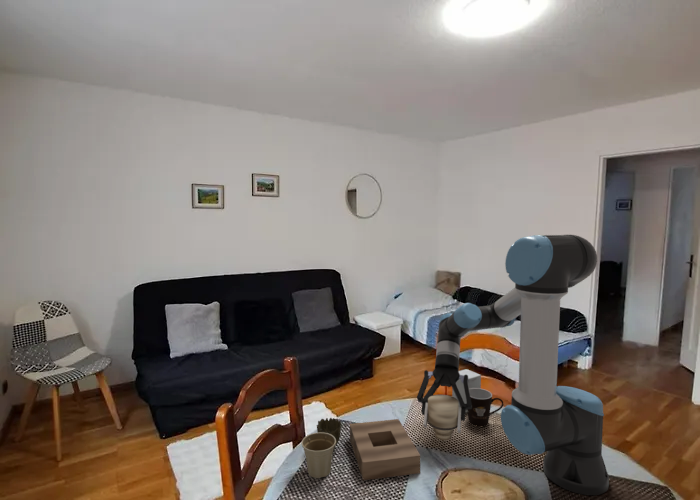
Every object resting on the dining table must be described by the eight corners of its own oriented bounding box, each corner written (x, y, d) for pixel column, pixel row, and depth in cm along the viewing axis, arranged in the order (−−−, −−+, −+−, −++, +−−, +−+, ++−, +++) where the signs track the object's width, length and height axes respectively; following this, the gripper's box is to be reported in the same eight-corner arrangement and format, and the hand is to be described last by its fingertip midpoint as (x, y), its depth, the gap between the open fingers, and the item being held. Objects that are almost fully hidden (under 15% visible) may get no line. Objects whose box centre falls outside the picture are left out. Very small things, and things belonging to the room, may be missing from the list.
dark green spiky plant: (338, 457, 113) (338, 431, 112) (314, 454, 114) (313, 428, 114) (343, 443, 120) (343, 418, 120) (320, 440, 122) (320, 416, 121)
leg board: (420, 473, 106) (420, 455, 105) (362, 480, 103) (362, 462, 103) (398, 433, 125) (398, 418, 125) (349, 439, 123) (349, 423, 122)
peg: (463, 442, 114) (464, 406, 113) (434, 446, 112) (434, 409, 111) (450, 427, 123) (450, 393, 122) (423, 430, 121) (423, 395, 120)
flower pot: (304, 460, 112) (304, 431, 111) (337, 461, 111) (337, 432, 111) (299, 482, 102) (298, 451, 102) (335, 483, 102) (334, 451, 101)
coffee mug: (461, 423, 131) (461, 395, 131) (469, 413, 138) (470, 386, 138) (497, 434, 125) (497, 403, 124) (503, 422, 132) (504, 394, 131)
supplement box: (466, 413, 138) (466, 379, 137) (451, 405, 145) (451, 372, 144) (481, 408, 142) (481, 374, 141) (465, 400, 148) (466, 368, 147)
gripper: (482, 366, 127) (480, 439, 113) (416, 360, 134) (407, 427, 120) (482, 356, 122) (480, 430, 108) (413, 349, 129) (403, 418, 115)
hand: (441, 428), depth 114 cm, fingers closed on peg, 9 cm apart
